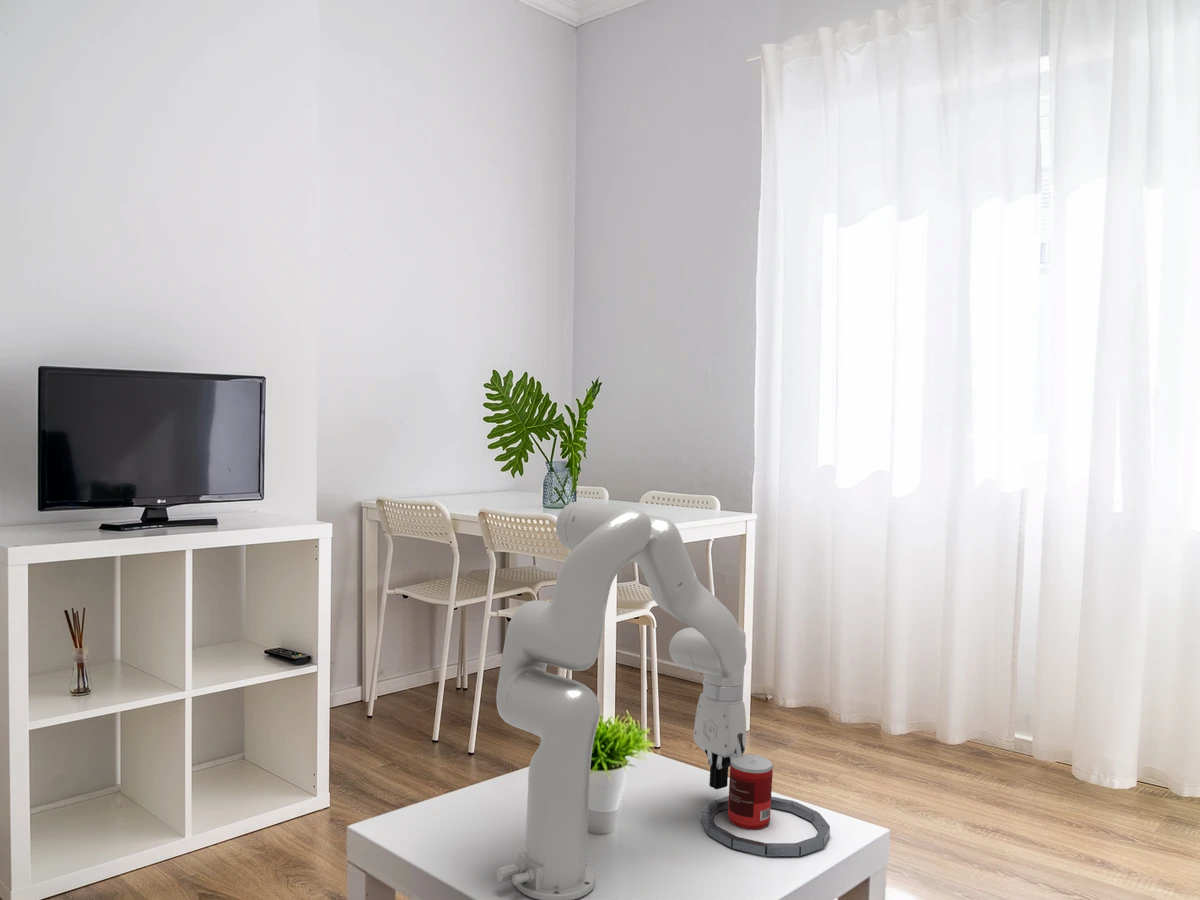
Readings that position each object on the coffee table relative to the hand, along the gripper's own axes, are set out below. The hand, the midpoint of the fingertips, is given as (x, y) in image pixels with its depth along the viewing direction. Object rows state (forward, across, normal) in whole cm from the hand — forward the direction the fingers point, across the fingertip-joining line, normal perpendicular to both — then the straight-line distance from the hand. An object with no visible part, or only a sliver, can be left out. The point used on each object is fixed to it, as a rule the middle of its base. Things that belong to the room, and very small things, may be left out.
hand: (718, 786), depth 176 cm
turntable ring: (+4, +12, 0) cm, 13 cm away
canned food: (+4, +8, 0) cm, 9 cm away
